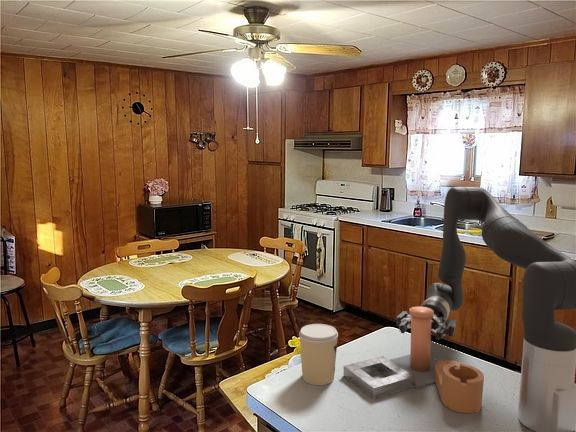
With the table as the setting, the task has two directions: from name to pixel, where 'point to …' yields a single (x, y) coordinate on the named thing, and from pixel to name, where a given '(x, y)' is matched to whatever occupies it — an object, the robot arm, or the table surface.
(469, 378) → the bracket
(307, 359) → the coffee cup
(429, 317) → the orange flanged cylinder
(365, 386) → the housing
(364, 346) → the table surface
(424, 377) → the mat
